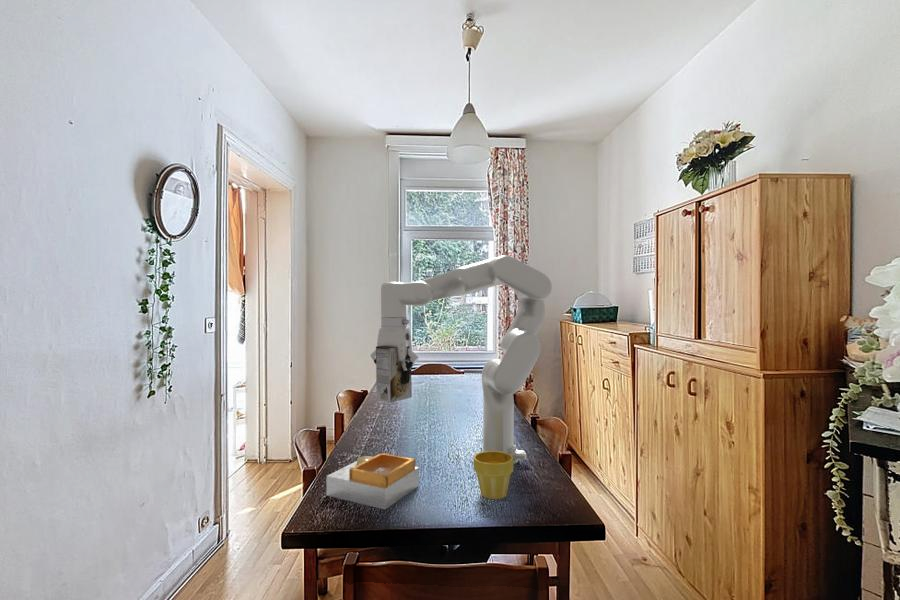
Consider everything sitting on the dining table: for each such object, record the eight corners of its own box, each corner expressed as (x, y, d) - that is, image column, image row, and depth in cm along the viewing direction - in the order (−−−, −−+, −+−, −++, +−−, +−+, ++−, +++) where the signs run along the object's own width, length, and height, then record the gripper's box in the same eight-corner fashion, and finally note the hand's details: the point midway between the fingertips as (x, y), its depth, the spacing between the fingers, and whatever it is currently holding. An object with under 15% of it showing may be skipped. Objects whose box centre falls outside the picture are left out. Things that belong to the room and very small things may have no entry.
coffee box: (397, 395, 148) (397, 343, 148) (412, 397, 144) (412, 344, 144) (375, 400, 141) (374, 345, 141) (390, 403, 137) (390, 347, 137)
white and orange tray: (418, 485, 128) (418, 458, 128) (385, 509, 114) (385, 478, 114) (364, 474, 136) (364, 448, 136) (326, 495, 122) (326, 466, 122)
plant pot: (465, 494, 123) (465, 456, 123) (491, 483, 130) (491, 447, 130) (495, 506, 116) (496, 466, 115) (521, 494, 123) (521, 456, 123)
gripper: (425, 323, 142) (425, 382, 142) (377, 322, 149) (377, 378, 149) (412, 324, 135) (412, 387, 135) (362, 323, 143) (362, 382, 143)
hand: (394, 382), depth 142 cm, fingers closed on coffee box, 7 cm apart
